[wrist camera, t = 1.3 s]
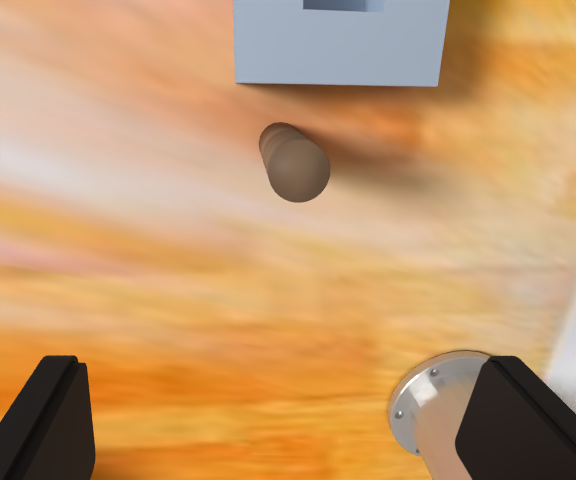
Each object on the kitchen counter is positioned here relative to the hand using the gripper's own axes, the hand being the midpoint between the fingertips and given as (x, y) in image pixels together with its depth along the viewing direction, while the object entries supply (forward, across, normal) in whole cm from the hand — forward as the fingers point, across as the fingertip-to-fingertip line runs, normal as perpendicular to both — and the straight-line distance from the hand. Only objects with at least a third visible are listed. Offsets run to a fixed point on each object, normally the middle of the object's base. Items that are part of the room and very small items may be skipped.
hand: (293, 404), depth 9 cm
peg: (+22, -2, -3) cm, 22 cm away
